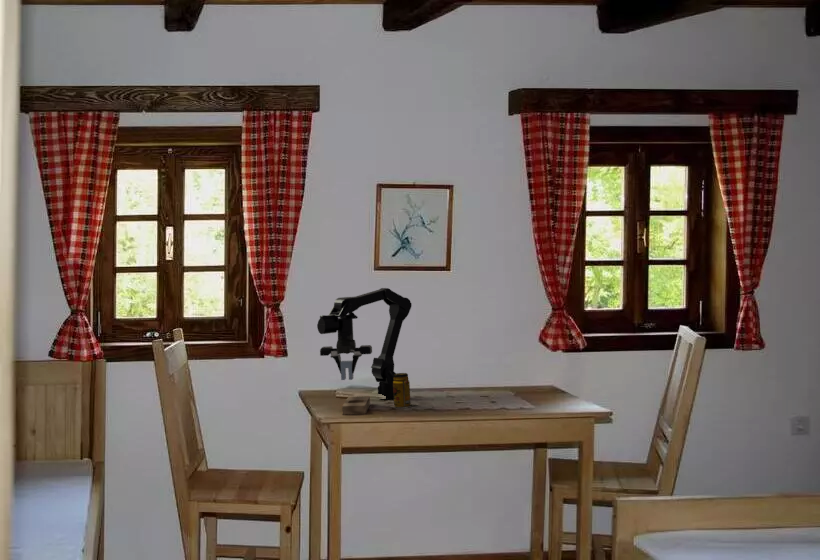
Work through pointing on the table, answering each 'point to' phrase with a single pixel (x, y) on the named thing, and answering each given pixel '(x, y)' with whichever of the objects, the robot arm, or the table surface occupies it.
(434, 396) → the table surface
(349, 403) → the brown slotted block
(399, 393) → the condiment
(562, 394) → the table surface
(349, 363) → the clip
